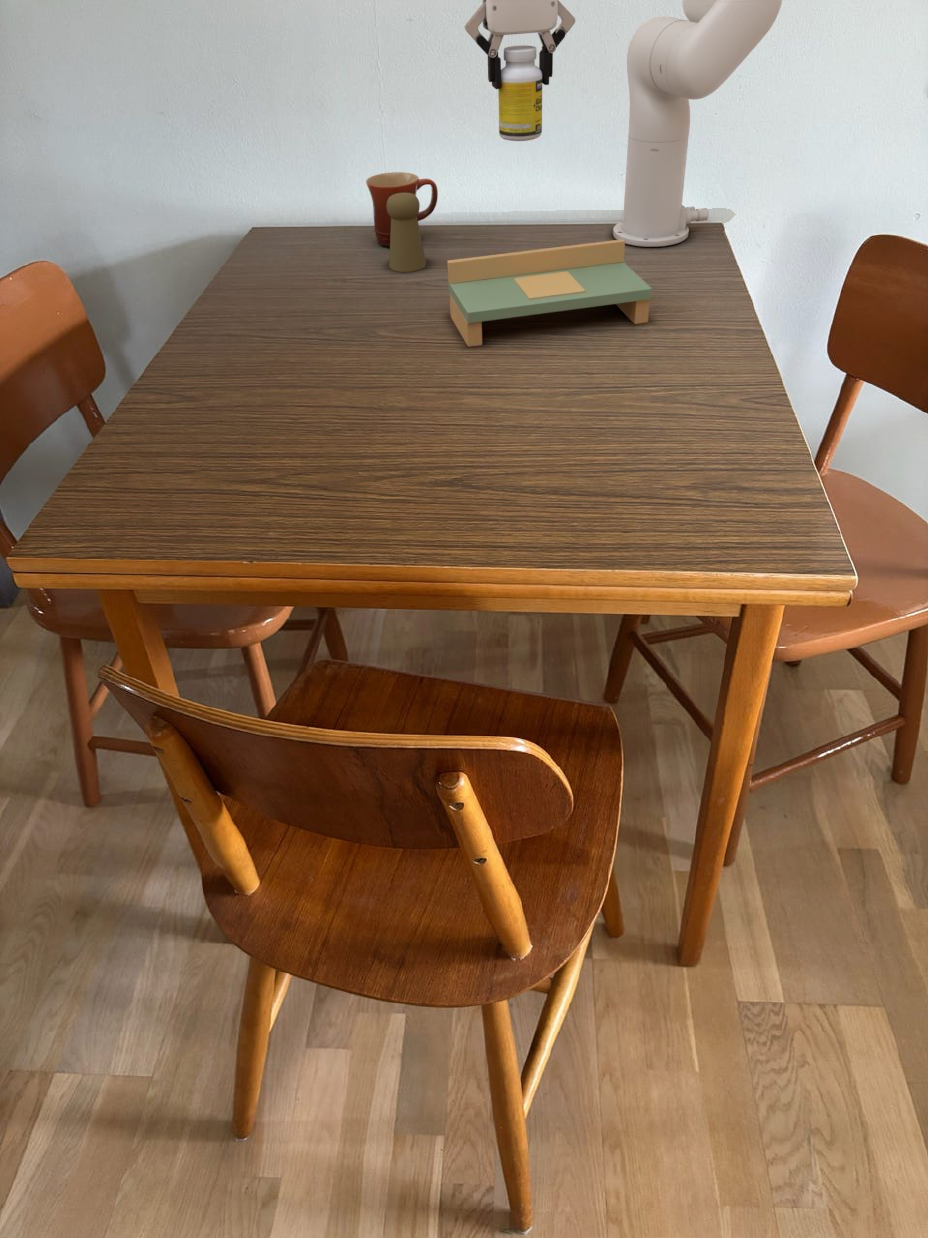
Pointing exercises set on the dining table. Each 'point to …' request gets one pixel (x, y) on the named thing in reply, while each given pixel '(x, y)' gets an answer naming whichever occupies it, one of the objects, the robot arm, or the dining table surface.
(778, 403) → the dining table surface
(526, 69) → the pill bottle
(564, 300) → the shelf
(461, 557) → the dining table surface
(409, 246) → the pepper shaker
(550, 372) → the dining table surface
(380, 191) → the mug
